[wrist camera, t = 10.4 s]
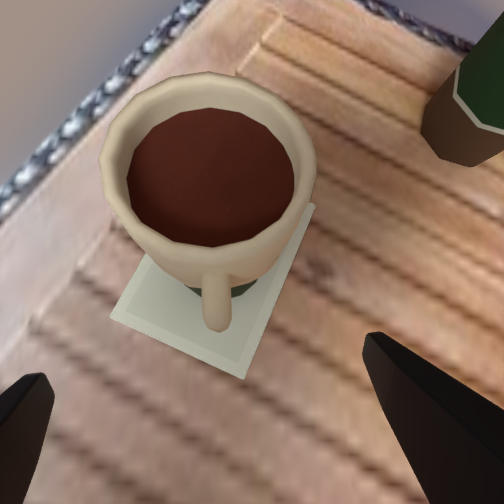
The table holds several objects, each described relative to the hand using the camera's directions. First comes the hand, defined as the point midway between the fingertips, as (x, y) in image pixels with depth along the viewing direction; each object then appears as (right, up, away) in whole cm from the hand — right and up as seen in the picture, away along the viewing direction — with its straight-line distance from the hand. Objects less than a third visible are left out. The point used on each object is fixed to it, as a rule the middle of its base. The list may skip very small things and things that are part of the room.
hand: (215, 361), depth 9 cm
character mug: (-1, +3, +14) cm, 14 cm away
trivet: (-1, +3, +15) cm, 15 cm away
